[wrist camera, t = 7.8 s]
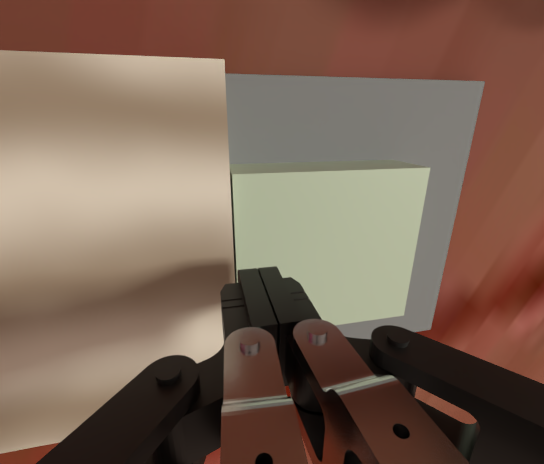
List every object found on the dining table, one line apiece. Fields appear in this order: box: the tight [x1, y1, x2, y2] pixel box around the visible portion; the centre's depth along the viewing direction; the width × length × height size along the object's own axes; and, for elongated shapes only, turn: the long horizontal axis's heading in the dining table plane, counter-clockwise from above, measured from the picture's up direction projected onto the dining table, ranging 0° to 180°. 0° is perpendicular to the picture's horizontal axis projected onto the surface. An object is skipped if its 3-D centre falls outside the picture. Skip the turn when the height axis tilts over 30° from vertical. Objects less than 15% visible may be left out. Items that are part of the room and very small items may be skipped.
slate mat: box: [225, 74, 485, 339], centre depth 18 cm, size 16×14×1 cm
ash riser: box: [0, 50, 235, 453], centre depth 13 cm, size 16×14×4 cm
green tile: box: [229, 160, 430, 325], centre depth 16 cm, size 8×9×3 cm
